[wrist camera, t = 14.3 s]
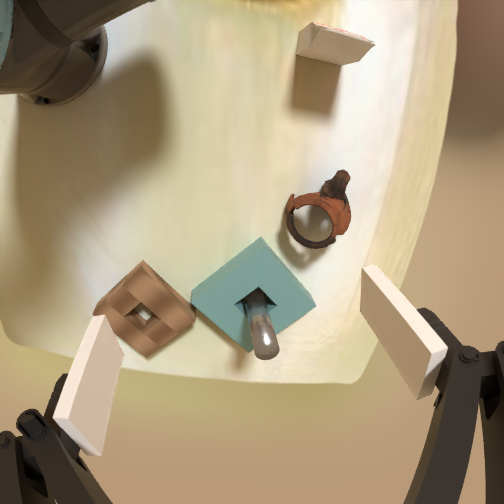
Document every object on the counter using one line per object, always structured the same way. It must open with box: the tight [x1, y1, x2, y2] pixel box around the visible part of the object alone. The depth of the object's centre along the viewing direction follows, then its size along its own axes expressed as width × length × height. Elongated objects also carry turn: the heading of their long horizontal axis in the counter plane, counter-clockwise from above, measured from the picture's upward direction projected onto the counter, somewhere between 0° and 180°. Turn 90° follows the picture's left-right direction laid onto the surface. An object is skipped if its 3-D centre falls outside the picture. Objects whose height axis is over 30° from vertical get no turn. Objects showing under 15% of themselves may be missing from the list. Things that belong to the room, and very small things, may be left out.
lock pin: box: [244, 287, 279, 360], centre depth 47 cm, size 3×3×14 cm
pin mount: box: [93, 261, 196, 357], centre depth 50 cm, size 12×12×4 cm
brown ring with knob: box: [286, 170, 351, 249], centre depth 45 cm, size 12×10×8 cm
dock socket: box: [191, 237, 316, 352], centre depth 51 cm, size 14×14×4 cm
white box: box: [296, 22, 375, 66], centre depth 33 cm, size 4×7×10 cm, turn 83°
